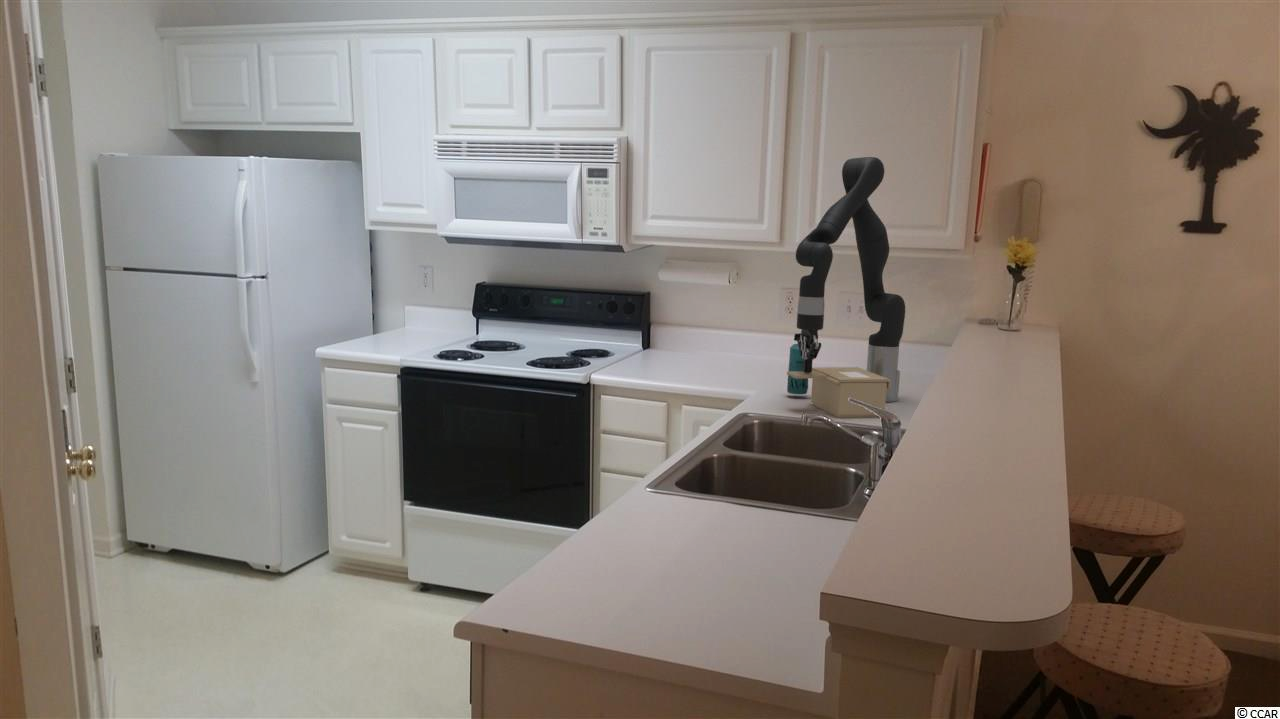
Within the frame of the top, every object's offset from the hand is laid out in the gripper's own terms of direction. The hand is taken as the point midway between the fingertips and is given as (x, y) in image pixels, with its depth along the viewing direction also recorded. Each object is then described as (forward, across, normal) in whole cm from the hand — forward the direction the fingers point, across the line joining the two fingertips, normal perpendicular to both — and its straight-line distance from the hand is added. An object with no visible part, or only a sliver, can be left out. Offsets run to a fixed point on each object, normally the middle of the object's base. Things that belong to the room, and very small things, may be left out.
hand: (807, 372), depth 272 cm
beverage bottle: (+12, +20, -6) cm, 24 cm away
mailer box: (+11, 0, -13) cm, 17 cm away
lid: (+3, 0, -8) cm, 9 cm away
